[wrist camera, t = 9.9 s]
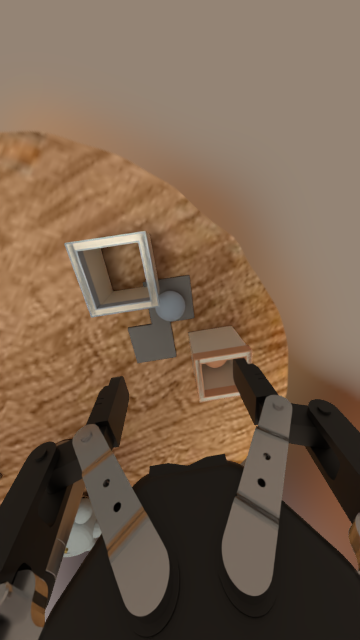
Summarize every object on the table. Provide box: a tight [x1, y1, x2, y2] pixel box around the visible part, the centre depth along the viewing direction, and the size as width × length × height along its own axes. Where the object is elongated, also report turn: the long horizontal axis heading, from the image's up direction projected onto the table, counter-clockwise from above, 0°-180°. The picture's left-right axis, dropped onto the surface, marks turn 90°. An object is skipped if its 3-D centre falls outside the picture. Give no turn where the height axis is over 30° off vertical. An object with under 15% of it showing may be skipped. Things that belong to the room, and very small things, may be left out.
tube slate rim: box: [64, 231, 160, 317], centre depth 23 cm, size 8×8×8 cm
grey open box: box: [188, 326, 252, 403], centre depth 30 cm, size 8×8×8 cm
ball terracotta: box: [206, 360, 227, 368], centre depth 32 cm, size 4×4×4 cm
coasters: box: [128, 275, 194, 363], centre depth 31 cm, size 11×14×1 cm
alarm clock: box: [63, 498, 102, 557], centre depth 48 cm, size 17×8×20 cm
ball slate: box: [155, 291, 185, 321], centre depth 27 cm, size 4×4×4 cm
